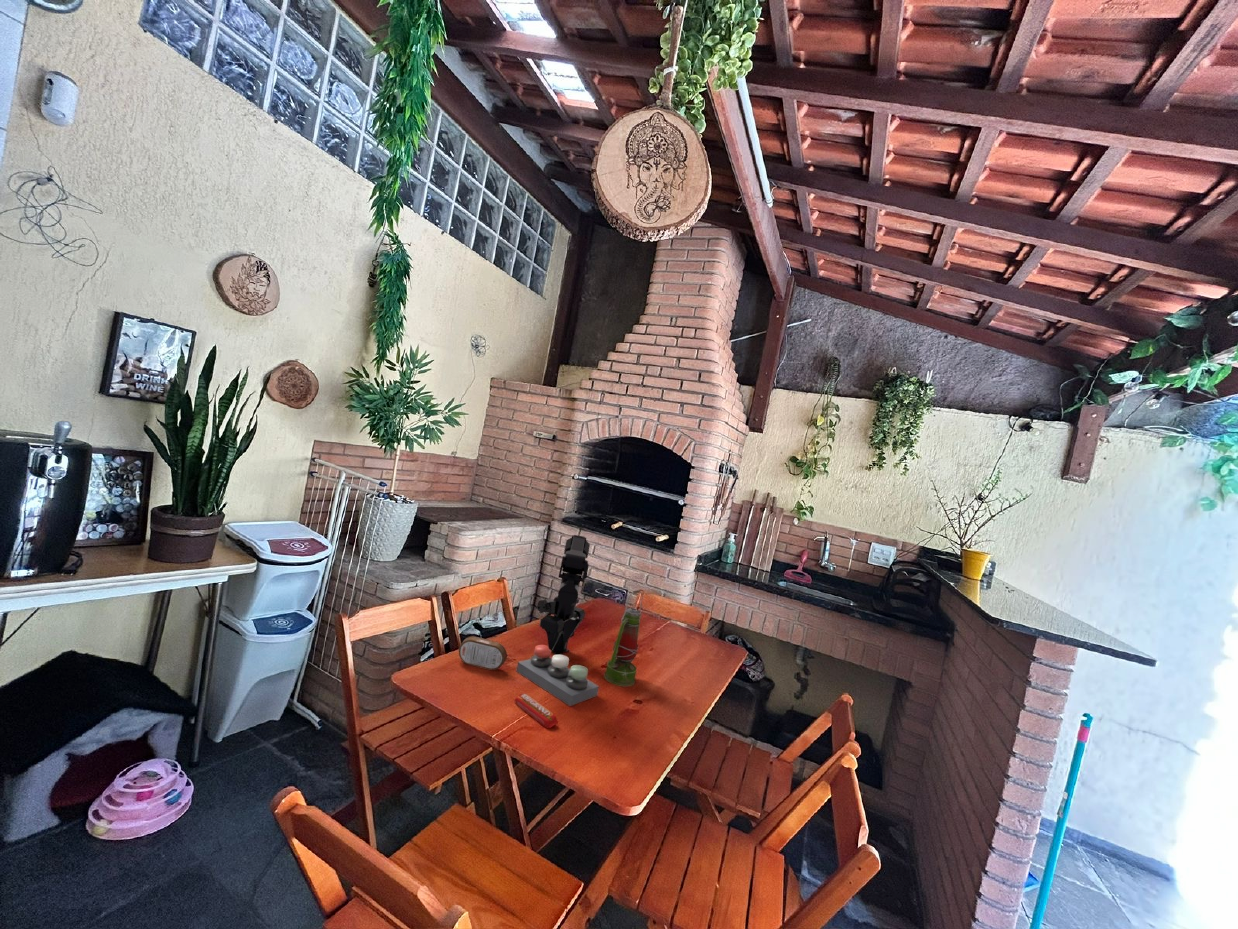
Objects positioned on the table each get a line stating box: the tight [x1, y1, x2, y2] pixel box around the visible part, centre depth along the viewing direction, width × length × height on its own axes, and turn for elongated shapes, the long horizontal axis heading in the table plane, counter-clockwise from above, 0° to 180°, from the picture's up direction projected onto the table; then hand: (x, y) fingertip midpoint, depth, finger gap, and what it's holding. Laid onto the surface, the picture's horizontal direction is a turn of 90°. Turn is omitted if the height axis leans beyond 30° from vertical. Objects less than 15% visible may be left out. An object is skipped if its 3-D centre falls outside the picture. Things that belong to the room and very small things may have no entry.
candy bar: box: [513, 693, 559, 729], centre depth 142 cm, size 16×4×3 cm, turn 48°
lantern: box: [603, 589, 644, 687], centre depth 174 cm, size 14×11×30 cm
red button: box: [533, 644, 552, 658], centre depth 167 cm, size 5×5×2 cm
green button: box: [569, 664, 589, 680], centre depth 157 cm, size 5×5×2 cm
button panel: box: [516, 654, 600, 707], centre depth 162 cm, size 12×24×4 cm, turn 51°
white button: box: [551, 654, 570, 668], centre depth 162 cm, size 5×5×2 cm
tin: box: [458, 636, 508, 671], centre depth 163 cm, size 15×3×8 cm, turn 84°
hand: (558, 645), depth 158 cm, fingers open, 9 cm apart
